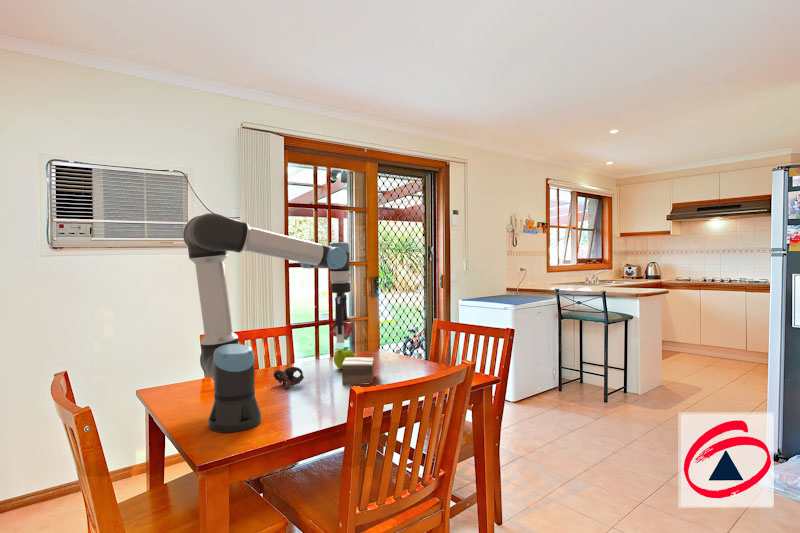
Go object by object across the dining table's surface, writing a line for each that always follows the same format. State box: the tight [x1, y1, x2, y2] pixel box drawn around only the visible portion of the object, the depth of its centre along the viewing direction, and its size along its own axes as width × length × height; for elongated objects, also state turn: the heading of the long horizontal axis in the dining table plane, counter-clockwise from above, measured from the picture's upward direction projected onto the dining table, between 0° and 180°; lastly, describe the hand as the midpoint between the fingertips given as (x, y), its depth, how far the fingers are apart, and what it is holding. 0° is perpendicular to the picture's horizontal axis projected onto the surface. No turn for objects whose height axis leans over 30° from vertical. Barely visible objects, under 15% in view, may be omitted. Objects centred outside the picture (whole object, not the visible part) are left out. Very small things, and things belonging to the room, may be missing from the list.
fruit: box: [333, 346, 356, 370], centre depth 203 cm, size 9×9×10 cm
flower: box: [329, 321, 355, 341], centre depth 175 cm, size 10×9×8 cm
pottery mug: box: [273, 366, 305, 389], centre depth 179 cm, size 12×10×8 cm
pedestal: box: [341, 356, 375, 386], centre depth 185 cm, size 12×12×8 cm
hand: (342, 340), depth 176 cm, fingers closed on flower, 9 cm apart
